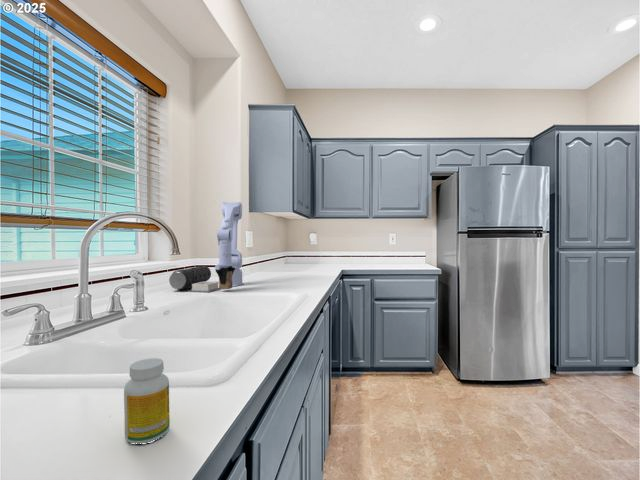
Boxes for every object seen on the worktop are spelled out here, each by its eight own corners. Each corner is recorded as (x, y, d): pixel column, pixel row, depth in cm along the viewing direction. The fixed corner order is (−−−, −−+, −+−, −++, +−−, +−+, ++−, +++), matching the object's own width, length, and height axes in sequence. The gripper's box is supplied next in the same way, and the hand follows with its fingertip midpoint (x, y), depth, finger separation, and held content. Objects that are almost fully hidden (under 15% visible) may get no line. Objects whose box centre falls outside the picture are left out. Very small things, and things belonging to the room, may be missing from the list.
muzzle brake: (211, 283, 187) (211, 265, 187) (187, 292, 159) (186, 270, 159) (195, 283, 188) (194, 265, 188) (167, 292, 160) (167, 270, 160)
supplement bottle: (119, 435, 45) (117, 363, 45) (160, 419, 49) (159, 353, 49) (133, 452, 42) (131, 375, 41) (176, 433, 46) (175, 362, 45)
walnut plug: (224, 287, 163) (223, 268, 163) (232, 287, 162) (232, 269, 162) (219, 289, 159) (218, 269, 159) (227, 289, 158) (227, 270, 158)
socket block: (202, 288, 170) (202, 281, 169) (220, 289, 167) (220, 281, 167) (189, 291, 160) (189, 284, 160) (208, 292, 157) (208, 284, 157)
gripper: (224, 255, 152) (225, 285, 153) (240, 253, 166) (240, 281, 167) (210, 255, 154) (211, 285, 154) (227, 253, 168) (227, 280, 168)
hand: (225, 283), depth 161 cm, fingers closed on walnut plug, 4 cm apart
